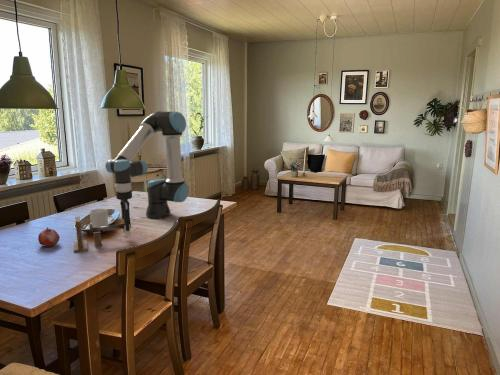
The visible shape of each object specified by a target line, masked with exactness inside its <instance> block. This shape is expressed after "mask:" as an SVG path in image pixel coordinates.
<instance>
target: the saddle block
mask: <svg viewBox="0 0 500 375" xmlns="http://www.w3.org/2000/svg"><path fill="white" fill-rule="evenodd" d="M101 233H102V232H93V240H94V247H95V248H97V247H102V236H101V235H102V234H101Z"/></svg>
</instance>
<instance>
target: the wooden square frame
mask: <svg viewBox="0 0 500 375" xmlns="http://www.w3.org/2000/svg"><path fill="white" fill-rule="evenodd" d="M74 217H75V228H76V230H75V231H76V240H75V241H73V253H82V252H87V251H88V249H89V248H88V241H87V240H86V239H85V240H83V235H82V233H83V232H82V227H81V226H82V225H81V216H74Z"/></svg>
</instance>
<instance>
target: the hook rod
mask: <svg viewBox="0 0 500 375" xmlns="http://www.w3.org/2000/svg"><path fill="white" fill-rule="evenodd" d="M122 220H123V221H122V223H121V224H120V223H119V224H112V225H108V226H102V227H94V228H92V223H91V222H90V223H89V224H88V225H89V226H88V227H89V232H90V234H94V232H100V233H102V232H101V231H103V232H108V231H115V230H123V229H124V225H123V224H124V218H123V219H122ZM130 229H132V224H131V221H130ZM124 232H125V229H124Z"/></svg>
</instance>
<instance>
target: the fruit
mask: <svg viewBox="0 0 500 375" xmlns="http://www.w3.org/2000/svg"><path fill="white" fill-rule="evenodd" d="M37 239H38V243H39V245H40V246H44V247H46V248H51V247H53V246H55V245H56V244H58V242H60V235H59V233H58V232H57V231H56V230H55V229H52V228H49V227H48V226H47V227H46V229H44V230H42V231H41V232H39V234H38V238H37Z"/></svg>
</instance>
